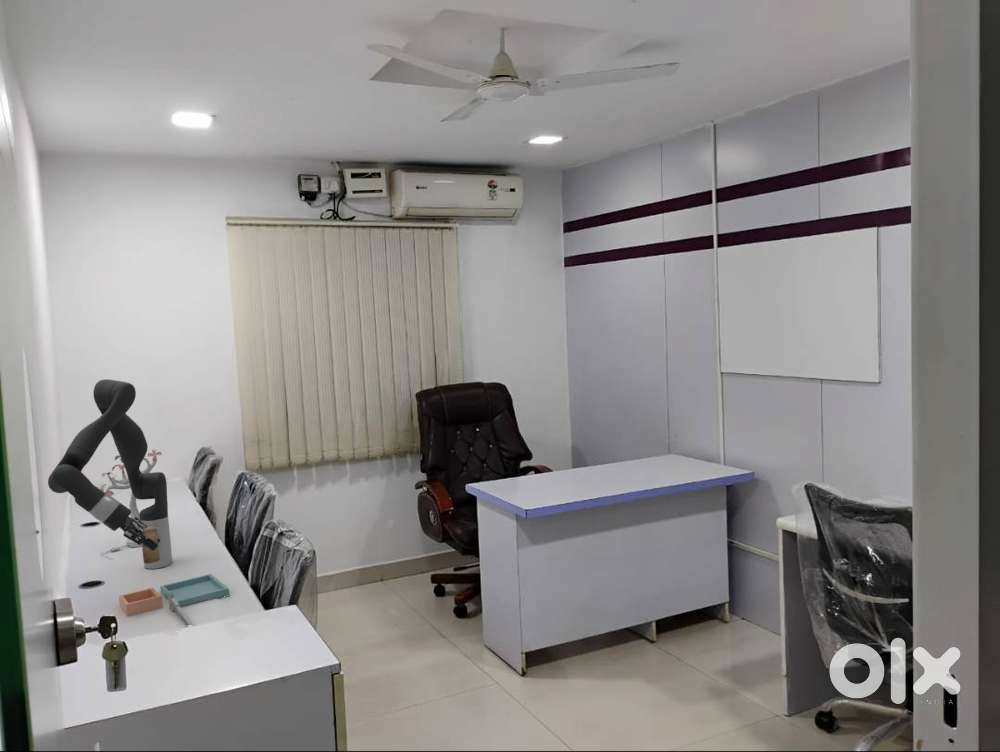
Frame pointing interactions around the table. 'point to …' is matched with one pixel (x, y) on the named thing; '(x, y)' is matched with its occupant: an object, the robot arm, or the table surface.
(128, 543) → the decorative lamp
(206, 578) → the tray
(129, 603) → the peach open box
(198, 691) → the table surface
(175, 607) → the caliper
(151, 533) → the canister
